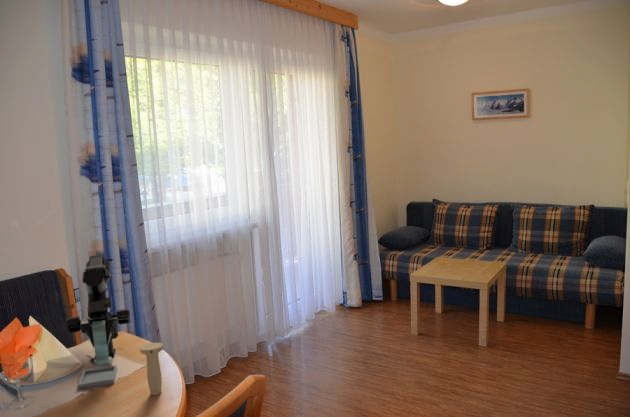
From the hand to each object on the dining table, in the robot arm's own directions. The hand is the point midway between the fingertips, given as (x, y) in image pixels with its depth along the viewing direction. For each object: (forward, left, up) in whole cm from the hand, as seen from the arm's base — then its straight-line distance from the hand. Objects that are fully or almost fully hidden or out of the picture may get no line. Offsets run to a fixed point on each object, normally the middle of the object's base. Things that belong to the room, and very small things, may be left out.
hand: (100, 345), depth 158 cm
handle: (+12, +16, -13) cm, 24 cm away
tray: (-4, -2, -13) cm, 14 cm away
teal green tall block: (-1, 0, -7) cm, 7 cm away
